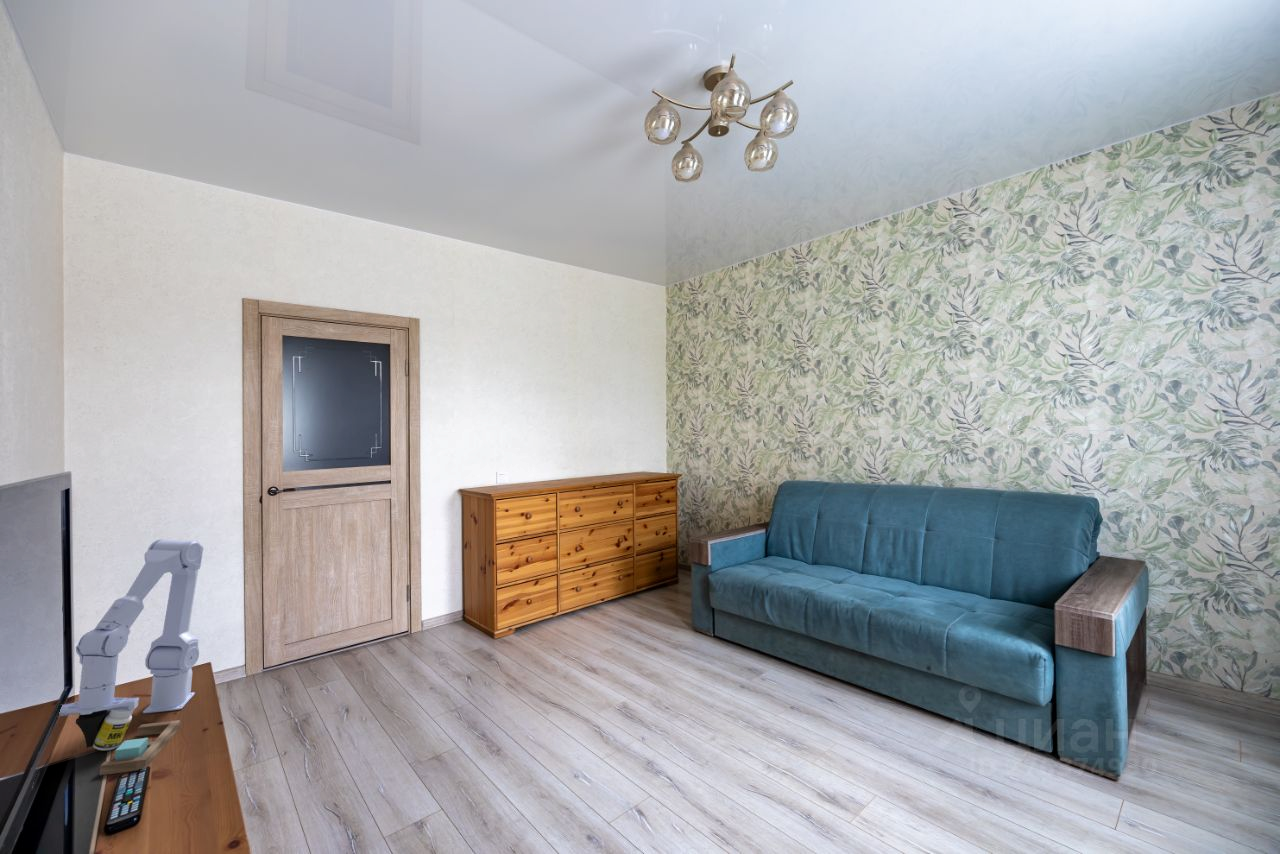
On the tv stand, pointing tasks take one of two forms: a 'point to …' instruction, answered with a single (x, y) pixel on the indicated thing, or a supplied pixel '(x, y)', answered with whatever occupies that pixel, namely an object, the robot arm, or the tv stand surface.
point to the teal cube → (131, 749)
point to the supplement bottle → (113, 729)
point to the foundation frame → (152, 750)
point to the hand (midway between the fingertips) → (91, 745)
